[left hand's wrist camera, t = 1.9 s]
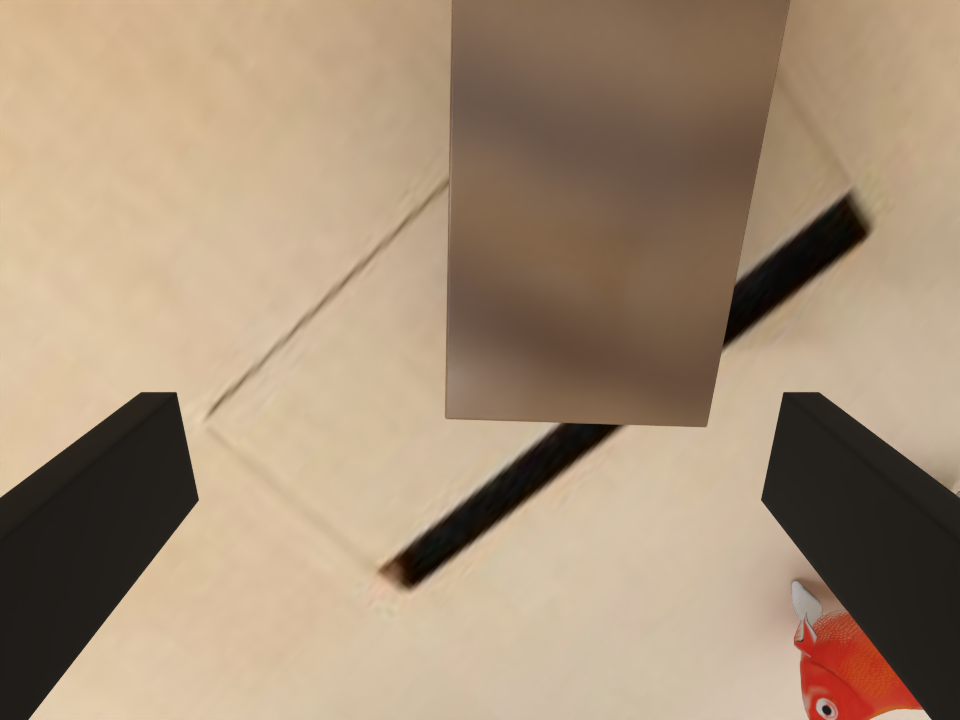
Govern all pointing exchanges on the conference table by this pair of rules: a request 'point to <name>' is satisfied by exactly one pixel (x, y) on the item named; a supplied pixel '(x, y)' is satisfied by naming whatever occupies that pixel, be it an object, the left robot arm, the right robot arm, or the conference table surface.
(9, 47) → the conference table surface
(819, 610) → the fish
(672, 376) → the cabinet
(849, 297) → the conference table surface
